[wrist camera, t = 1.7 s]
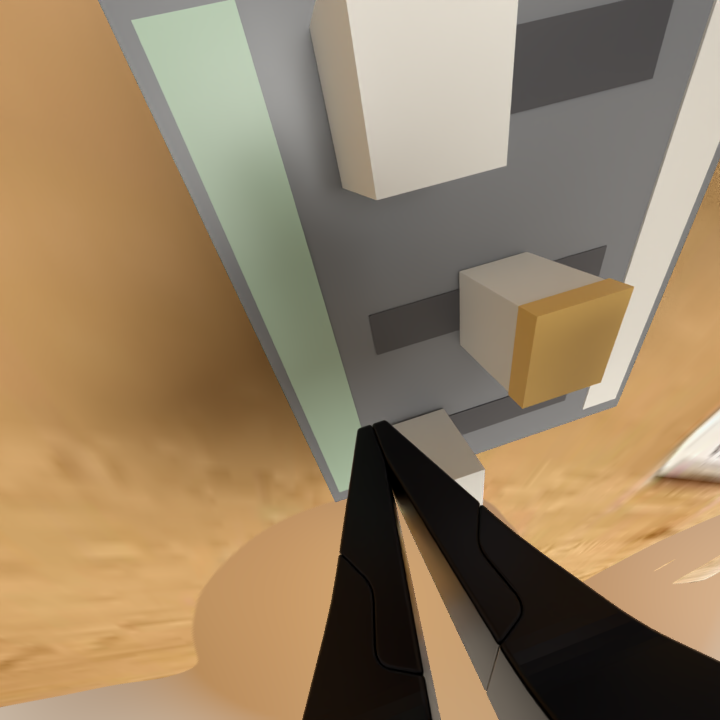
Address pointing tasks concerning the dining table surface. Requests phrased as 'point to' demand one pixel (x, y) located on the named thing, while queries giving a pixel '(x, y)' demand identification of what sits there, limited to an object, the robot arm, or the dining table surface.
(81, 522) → the dining table surface
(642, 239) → the panel
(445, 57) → the block
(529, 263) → the block
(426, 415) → the block
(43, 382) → the dining table surface
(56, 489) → the dining table surface
